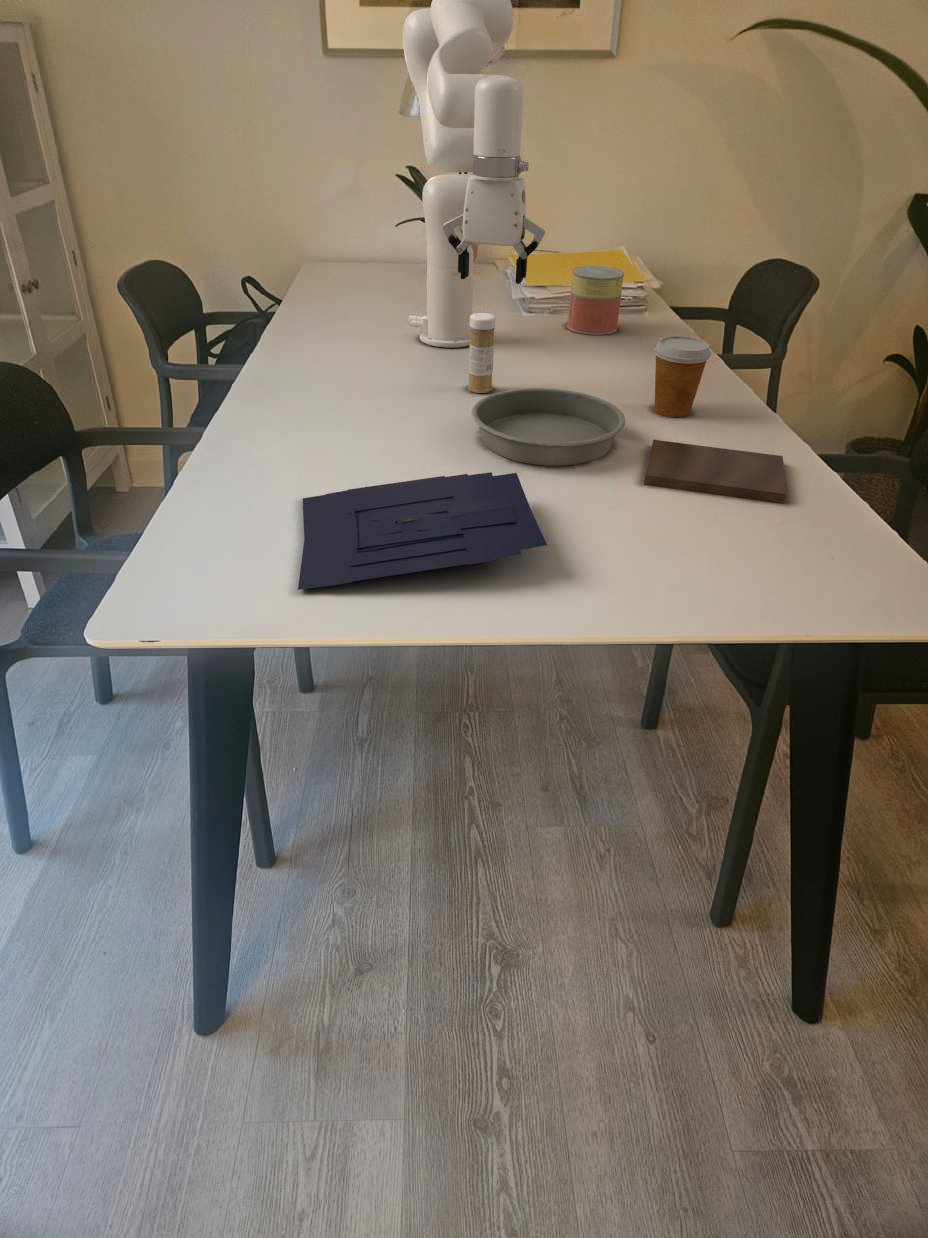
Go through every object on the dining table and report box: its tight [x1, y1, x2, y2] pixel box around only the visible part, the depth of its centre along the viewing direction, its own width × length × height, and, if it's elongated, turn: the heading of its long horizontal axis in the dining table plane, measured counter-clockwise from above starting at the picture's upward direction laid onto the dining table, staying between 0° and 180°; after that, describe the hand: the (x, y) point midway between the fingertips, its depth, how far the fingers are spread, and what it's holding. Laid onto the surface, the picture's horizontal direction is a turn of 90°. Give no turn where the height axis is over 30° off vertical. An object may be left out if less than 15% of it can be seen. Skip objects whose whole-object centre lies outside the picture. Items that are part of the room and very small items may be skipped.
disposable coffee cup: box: [653, 335, 712, 418], centre depth 149 cm, size 10×10×12 cm
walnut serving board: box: [643, 439, 787, 504], centre depth 130 cm, size 20×14×2 cm
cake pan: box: [471, 387, 626, 467], centre depth 139 cm, size 25×25×4 cm
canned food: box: [566, 265, 625, 336], centre depth 190 cm, size 11×11×12 cm
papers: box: [297, 471, 548, 591], centre depth 111 cm, size 24×30×4 cm
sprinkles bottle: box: [467, 312, 496, 394], centre depth 154 cm, size 5×5×14 cm
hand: (491, 279), depth 148 cm, fingers open, 9 cm apart
